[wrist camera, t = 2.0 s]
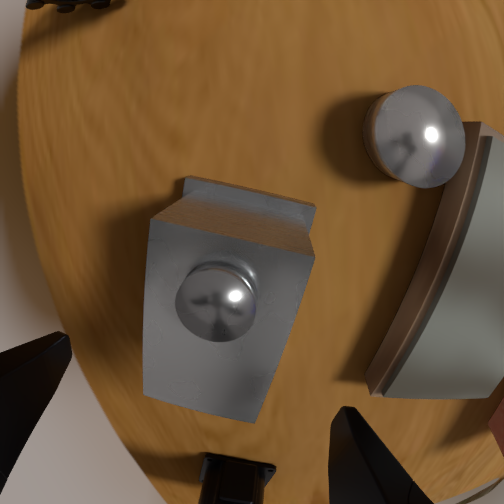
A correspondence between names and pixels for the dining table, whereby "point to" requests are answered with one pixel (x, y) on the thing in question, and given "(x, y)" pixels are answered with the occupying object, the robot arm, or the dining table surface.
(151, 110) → the dining table surface
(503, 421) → the house
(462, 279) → the stand
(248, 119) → the dining table surface
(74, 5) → the valve
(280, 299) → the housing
